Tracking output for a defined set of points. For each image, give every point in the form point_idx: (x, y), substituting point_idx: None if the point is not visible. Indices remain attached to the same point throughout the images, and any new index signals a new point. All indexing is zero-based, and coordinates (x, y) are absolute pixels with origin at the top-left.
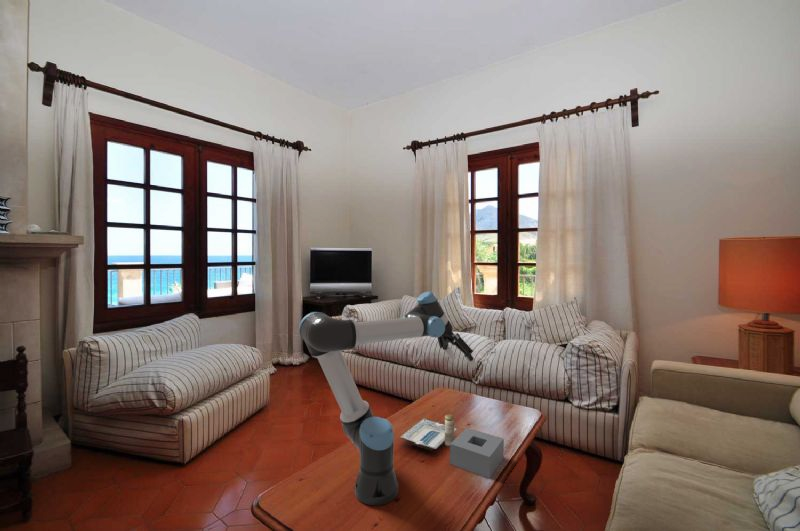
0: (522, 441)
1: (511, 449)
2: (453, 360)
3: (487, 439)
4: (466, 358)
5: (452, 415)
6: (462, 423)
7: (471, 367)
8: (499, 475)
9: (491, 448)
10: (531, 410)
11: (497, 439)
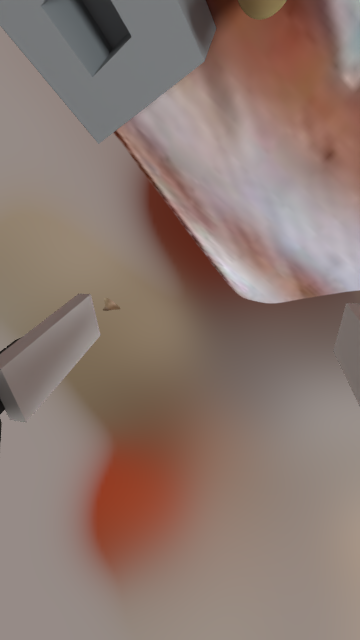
0: (175, 210)
1: (153, 164)
2: (343, 319)
3: (97, 82)
4: (19, 345)
5: (265, 14)
6: (351, 138)
7: (87, 295)
8: None
9: (32, 46)
10: (263, 301)
11: (94, 120)
